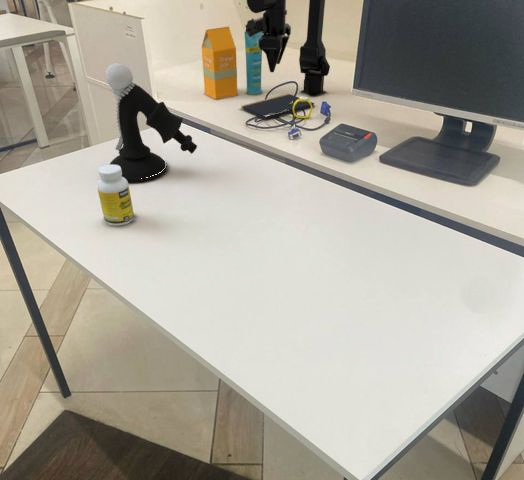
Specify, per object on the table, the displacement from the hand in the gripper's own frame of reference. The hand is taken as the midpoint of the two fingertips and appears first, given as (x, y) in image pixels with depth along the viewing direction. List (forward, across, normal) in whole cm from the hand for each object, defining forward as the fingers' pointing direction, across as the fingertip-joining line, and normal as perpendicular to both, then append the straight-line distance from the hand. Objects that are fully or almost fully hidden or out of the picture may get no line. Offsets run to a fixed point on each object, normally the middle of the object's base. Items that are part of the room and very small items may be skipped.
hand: (274, 67), depth 160 cm
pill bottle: (+13, +75, -20) cm, 79 cm away
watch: (+14, +2, +9) cm, 16 cm away
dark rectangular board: (+13, -6, 0) cm, 14 cm away
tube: (+14, -20, -11) cm, 26 cm away
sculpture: (+13, +49, -22) cm, 55 cm away
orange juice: (+14, -16, -22) cm, 30 cm away
